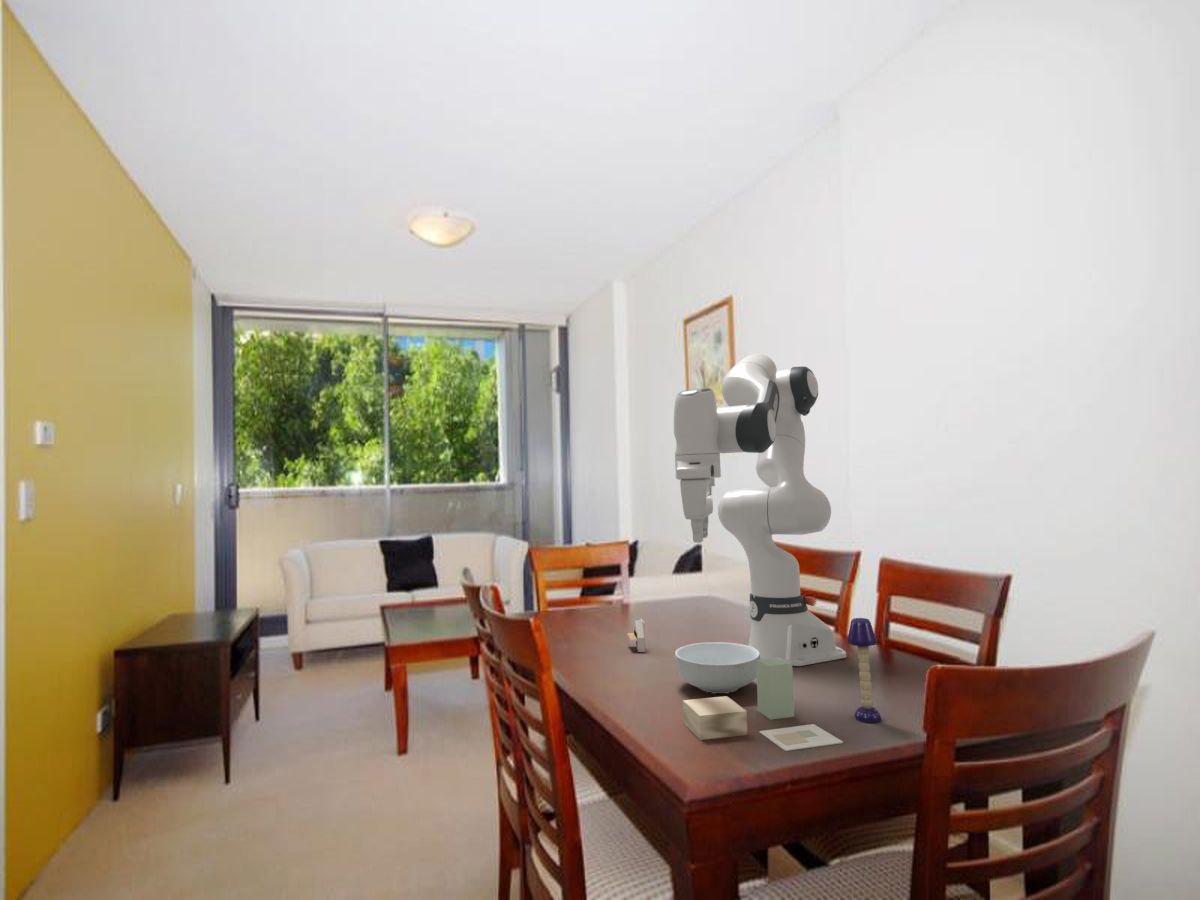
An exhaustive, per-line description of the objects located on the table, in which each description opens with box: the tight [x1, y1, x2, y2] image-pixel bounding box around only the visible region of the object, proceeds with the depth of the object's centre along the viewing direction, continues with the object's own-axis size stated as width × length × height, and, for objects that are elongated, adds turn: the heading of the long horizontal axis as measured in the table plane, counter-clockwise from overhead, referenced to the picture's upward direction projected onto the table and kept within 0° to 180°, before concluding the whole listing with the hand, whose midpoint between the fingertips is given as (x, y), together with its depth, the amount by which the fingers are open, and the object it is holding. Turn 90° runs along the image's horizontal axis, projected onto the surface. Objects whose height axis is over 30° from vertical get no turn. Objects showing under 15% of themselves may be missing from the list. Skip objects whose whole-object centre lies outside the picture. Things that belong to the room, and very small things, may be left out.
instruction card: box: [758, 723, 844, 752], centre depth 106 cm, size 10×8×1 cm
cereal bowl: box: [674, 641, 760, 694], centre depth 133 cm, size 17×17×7 cm
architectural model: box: [627, 618, 646, 653], centre depth 165 cm, size 3×7×7 cm, turn 5°
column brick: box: [756, 657, 795, 720], centre depth 117 cm, size 4×4×9 cm
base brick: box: [682, 695, 748, 741], centre depth 111 cm, size 8×8×4 cm
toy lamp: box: [847, 617, 882, 724], centre depth 114 cm, size 5×5×17 cm
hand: (700, 539), depth 132 cm, fingers open, 8 cm apart
